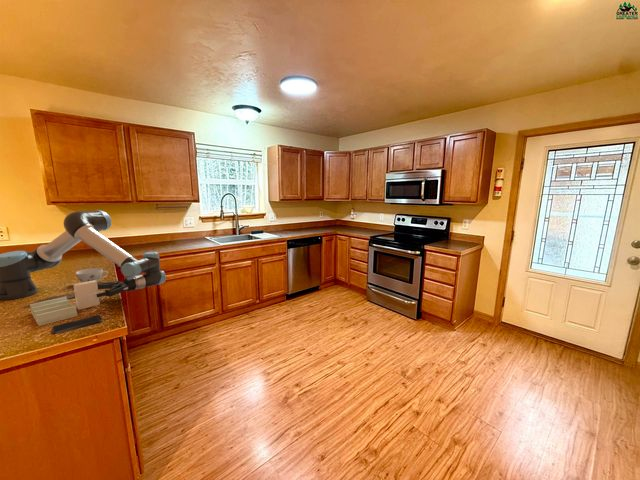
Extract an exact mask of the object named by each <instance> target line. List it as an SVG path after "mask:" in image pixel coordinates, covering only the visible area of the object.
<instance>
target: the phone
mask: <svg viewBox="0 0 640 480" xmlns="http://www.w3.org/2000/svg"><path fill="white" fill-rule="evenodd" d="M102 322H103V319H102V316H101V315H99V314H97V315H93V316H90V317H89V316H88V317H86V318H81V319H77V320H76V319H75V320H73V321H69V322H64V323H60V324H57V325H56V324H55V325H53V326H52V328H51V329H52V335H57V334H63V333H66V332H69V331H74V330H77V329H81V328H85V327H89V326H92V325H97V324H100V323H102Z"/></svg>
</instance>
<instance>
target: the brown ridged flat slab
mask: <svg viewBox="0 0 640 480" xmlns="http://www.w3.org/2000/svg"><path fill="white" fill-rule="evenodd" d="M62 297H67V300H70V299H73V298H75V292H70V293H66V294H63V295H62V294H61V295H54V296H50V297H46V298H44V299H43V298H42V299H38V300H36V301H34V302H31V303H29V304H26V305H24V306H22V307H21V308H27V307H30V304H34V303H39V302H43V301H48V300H53V299H57V298H62Z"/></svg>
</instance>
